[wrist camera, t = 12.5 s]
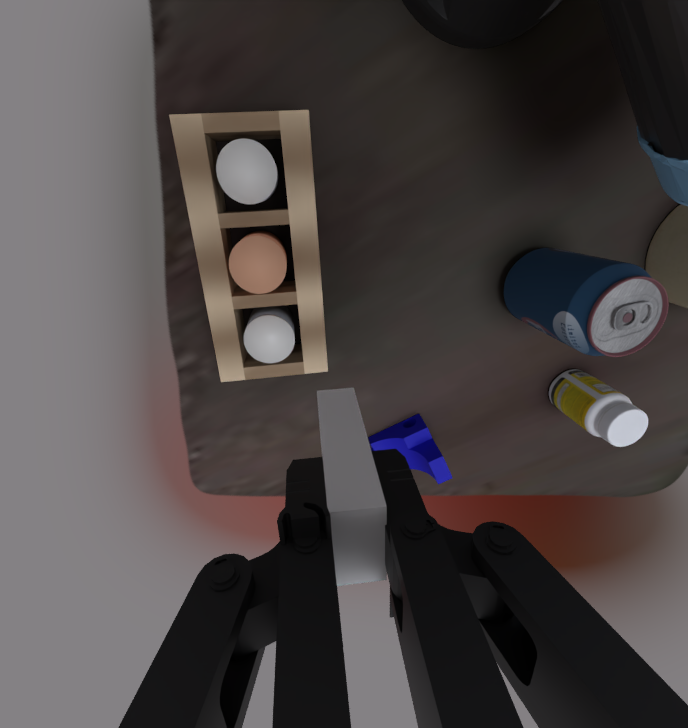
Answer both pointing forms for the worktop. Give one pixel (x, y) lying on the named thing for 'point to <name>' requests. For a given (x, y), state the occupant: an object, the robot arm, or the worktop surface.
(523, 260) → the soda can
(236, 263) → the plunger mid
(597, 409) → the supplement bottle
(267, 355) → the plunger
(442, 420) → the worktop surface
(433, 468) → the cable clip
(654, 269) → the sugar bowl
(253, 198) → the plunger
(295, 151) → the button block
